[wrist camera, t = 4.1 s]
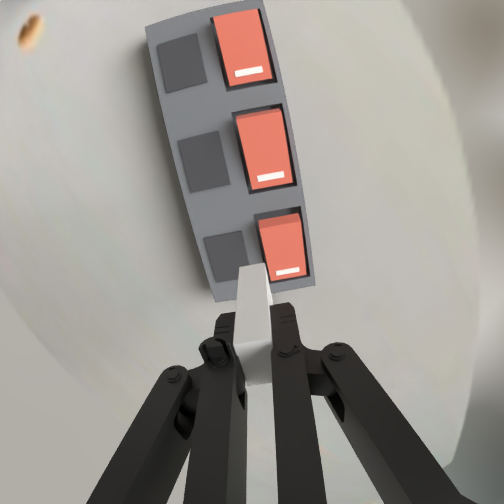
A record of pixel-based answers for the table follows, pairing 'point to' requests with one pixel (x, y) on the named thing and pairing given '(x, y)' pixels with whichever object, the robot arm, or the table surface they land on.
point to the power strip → (222, 146)
